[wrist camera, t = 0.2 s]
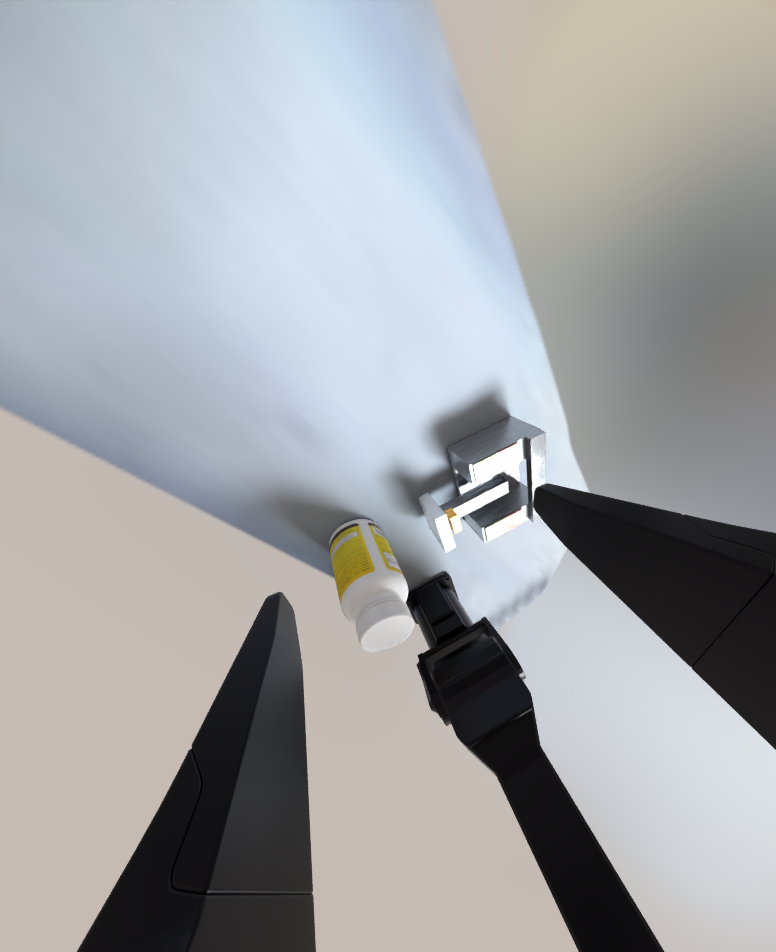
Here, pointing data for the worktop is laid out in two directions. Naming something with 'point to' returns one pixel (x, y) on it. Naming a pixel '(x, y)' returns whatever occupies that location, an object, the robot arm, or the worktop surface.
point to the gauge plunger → (459, 509)
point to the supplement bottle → (370, 585)
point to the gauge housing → (500, 473)
